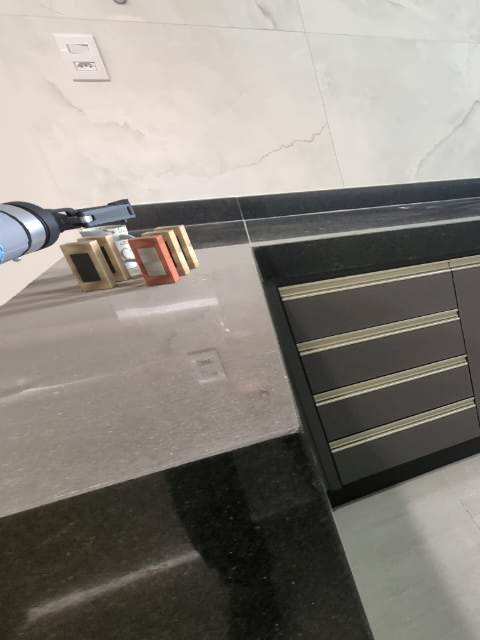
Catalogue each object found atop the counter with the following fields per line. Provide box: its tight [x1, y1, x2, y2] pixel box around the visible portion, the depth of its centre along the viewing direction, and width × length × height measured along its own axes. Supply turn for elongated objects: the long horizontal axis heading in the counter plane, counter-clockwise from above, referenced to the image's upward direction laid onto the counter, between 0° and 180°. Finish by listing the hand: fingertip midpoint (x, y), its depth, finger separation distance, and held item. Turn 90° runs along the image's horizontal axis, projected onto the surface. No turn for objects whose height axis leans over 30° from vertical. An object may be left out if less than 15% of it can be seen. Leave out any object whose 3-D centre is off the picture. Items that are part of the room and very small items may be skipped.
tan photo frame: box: [59, 234, 132, 293], centre depth 116 cm, size 5×10×10 cm, turn 23°
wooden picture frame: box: [140, 224, 200, 277], centre depth 124 cm, size 5×10×10 cm, turn 23°
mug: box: [78, 224, 138, 270], centre depth 130 cm, size 8×13×10 cm, turn 88°
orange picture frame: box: [127, 235, 181, 287], centre depth 115 cm, size 5×3×10 cm, turn 113°
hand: (83, 209), depth 98 cm, fingers open, 13 cm apart
